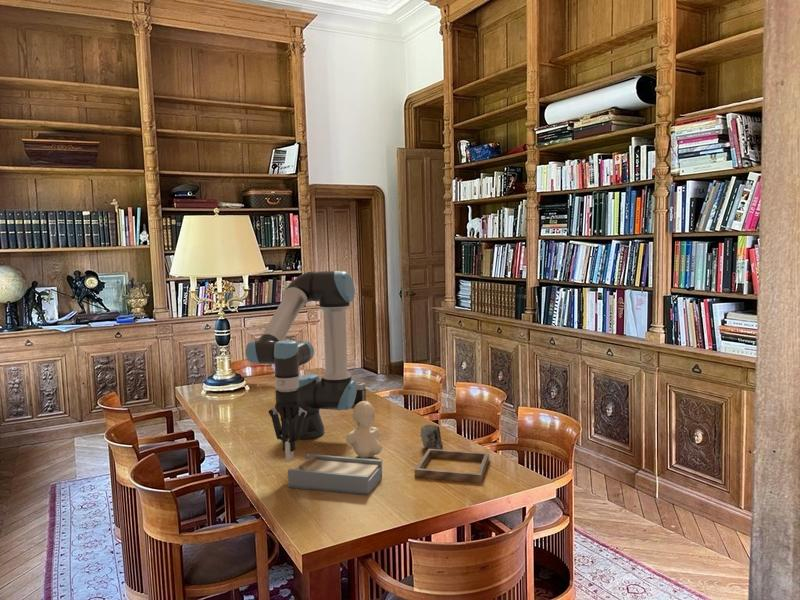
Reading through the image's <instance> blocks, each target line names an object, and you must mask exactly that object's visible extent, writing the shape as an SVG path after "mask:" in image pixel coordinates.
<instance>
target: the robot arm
mask: <svg viewBox="0 0 800 600" xmlns="http://www.w3.org/2000/svg"><path fill="white" fill-rule="evenodd" d="M282 297H283V298H282V300H281V302H280V303H279V305H278V307H277V308H276V309H275V312H274V313H273V315H272V317H271V318H270V320H269V322H268V324H267V325H266V327H265V329H264V330H263V333H262V334H261V335H260V337H259V339H258V340H251V341H249V342H248V343H247V344H246V347H245V357H246V360H247V361H248V362H249V363H250V364H251V363H253V364H258V365H261V364H263V365H264V364H266V365H270V364H271V365H274V383H275V384H274V388H275V392H274V393H275V404H274V408H271V409H269V410H268V412H267V413H268V414H269V416H270V417H271V420H272V425H273V428H274V432H275V437H276V439H277V440H281V442H282V451H284V452H285V453H284V454H285V462H286V463H291V462H292V461H293V460H294V451H295V450H297V449H296V447H297V446H296V442H297V441H298V440H307V439H309V440H310V439H315V438H319V437H321V436H322V435H324V434H325V426H324V425H325V424H324V422H323V420H322V417H321V413H320V410H333V411H348V410H350V409H352V407H353V406H354V405H355V404H354V401H355V398H356V393H357V384H356V380H354V379H352V374H351V373H350V372H349V371H348V352H347V351H348V347H347V346H348V345H347V344H348V343H347V312H346V311H347V309H348V308H349V307H350V305H351V304H350V303H351V302H353V301H354V298H355V284H354V281H353V278H352V276H351V274H350V273H348V272H347V271H341V270H340V271H339V270H329V271H328V270H327V271H326V270H325V271H324V270H323V271H316V270H310V271H307V272H304V273H302V274H300V275H299V276H297V277H296V278H294V279H293V280H292V281H291V282H290V283H289V284H288V286H287V287H286V288H285V290H284V292H283V295H282ZM309 302H318V305H319V308H320V309H321V310H322V312H323V335H324V336H323V338H324V339H323V342H324V367H325V368H324V373H323V374H322V375H321V378H320V376H319V375H318V373H317V374H316V373H308V374H302V375H299V374H300V372H299V366H302V365H305V364H307V363H308V362H309V361H311V360H312V359H313V357H314V355H315V349H314V346H313V345H312V344H311V342H309V341H307V340H298V341H296V340H293V339H291V340H290V339H286V340H285V338H286V337H287V334H288V333H289V331H290V329H291V327H292V325H293V324H294V322H295V320H296V319H297V317H298V315H299V313H300V312H301V310H302V308H304V307H306V305H307V304H308V303H309Z"/></svg>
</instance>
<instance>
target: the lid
mask: <svg viewBox="0 0 800 600" xmlns="http://www.w3.org/2000/svg"><path fill="white" fill-rule="evenodd" d="M377 468H378V465H376V464H364V463H353V462H341V461H329V460H317V458H316V456H311V457H310V458H309V459H306V458H305V460H304V461H303V462H301V464H299V465H298V466H297V467H295V469H299V470H310V471H321V472H332V473H343V474H354V475H365V476H369V478H370V477H371V475H372V474H373V473H374V472H375V471H376V469H377Z"/></svg>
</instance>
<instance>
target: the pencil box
mask: <svg viewBox="0 0 800 600" xmlns="http://www.w3.org/2000/svg"><path fill="white" fill-rule="evenodd" d="M311 456H316V458H317V460H329V461H341V462H353V463H364V464H376V465H378V468H377V469H376V471H375V472H374V473H373V474H372V475H371V477H370V478H369V476H365V475H354V474H343V473H332V472H321V471H310V470H299V469H296V468H289V469H287V482H288V483H287V484H288V488H291V489H301V490H310V491H311V490H312V491H319V492H320V491H321V492H330V493H341V494H349V495H350V494H352V495H353V494H354V495H362V496H369V495H370V493H371V492H372V491H373V489H374V488H375V487H376V486H377V484H378V483H379V482H380V480H381V479H382V478H383V460H382V459H376V458H375V459H374V458H361V457H350V456H349V457H348V456H337V455H325V454H315V453H313V454H312V453H307V454H306V455H305V460H306V459H309V458H310V457H311Z"/></svg>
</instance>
